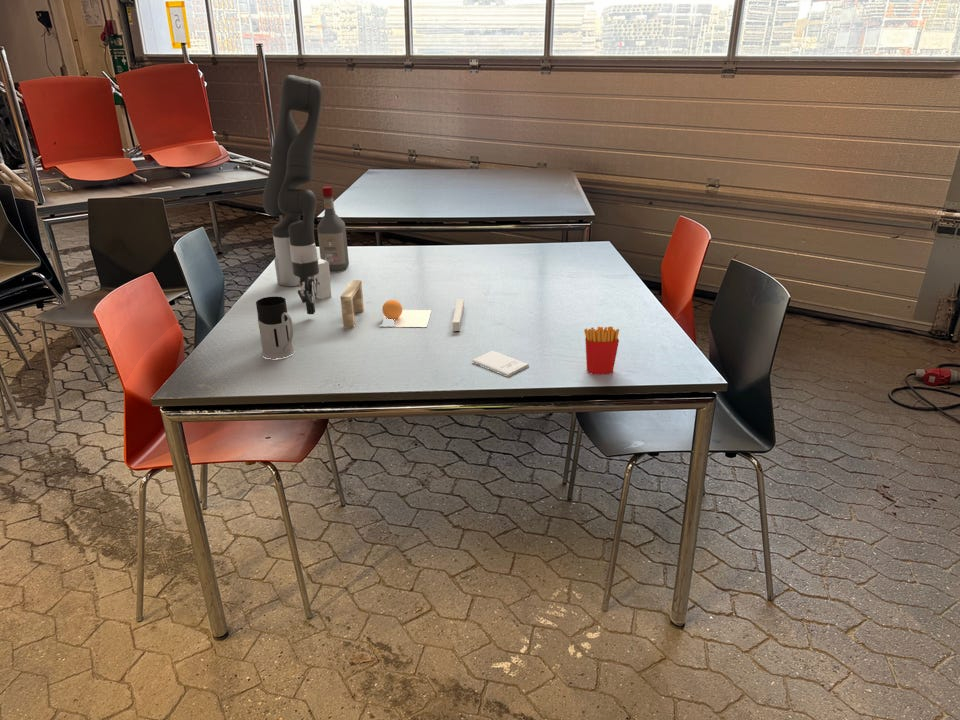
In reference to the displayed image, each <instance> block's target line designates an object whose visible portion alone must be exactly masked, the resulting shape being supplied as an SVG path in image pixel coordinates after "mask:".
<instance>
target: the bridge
mask: <svg viewBox="0 0 960 720" xmlns="http://www.w3.org/2000/svg"><path fill="white" fill-rule="evenodd" d="M339 297H340V305H341V315H342V324H343V325H342V327H343V328H344V327H354V328H355V326H356V321H355V320H356V319H355V313H363V312H364V310H365V307H364V295H363V284H362V280H361V279H357V280H355V279H352V280H350V282H349V283H348V285H347V286H346V288H345V289H344V290H343V292H342V294H340V296H339ZM354 325H355V326H354Z"/></svg>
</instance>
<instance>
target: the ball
mask: <svg viewBox="0 0 960 720" xmlns="http://www.w3.org/2000/svg"><path fill="white" fill-rule="evenodd" d="M402 310H403V306H402V304H401V302H399V301H398V300H396V299H389V300H387V301H385V302H384V303H383V305H382V314H383V317H384V316H385V317H387V318H388V319H397V318H398V317H400V315H401V314H402Z"/></svg>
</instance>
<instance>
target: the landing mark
mask: <svg viewBox="0 0 960 720" xmlns="http://www.w3.org/2000/svg"><path fill="white" fill-rule="evenodd" d="M432 311H433V310H432V309H402V314H401V315H400V317H398V318H397V319H395V320H394V319H393V320H394V322H395V323H394V324H395V325H397V326H396V327H395V328H402V327H428V324H429V321H430V317H431V315H430V314H432ZM384 317H385V316H384V315H383V318H384ZM386 319H387V317H386ZM396 321H397V322H396ZM395 325H394V326H395Z"/></svg>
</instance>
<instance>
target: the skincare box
mask: <svg viewBox="0 0 960 720" xmlns="http://www.w3.org/2000/svg"><path fill="white" fill-rule="evenodd" d="M318 266H319V273H318V274H317V275H314V278H317V280H318V281H317V292H316V297H317V299H319V300H325V299H327V298H331V297H332V286H331V272H330V270H329V262H327V261H325V260H323V259H321V258H320V257H319V258H318ZM316 297H315V298H316Z"/></svg>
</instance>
